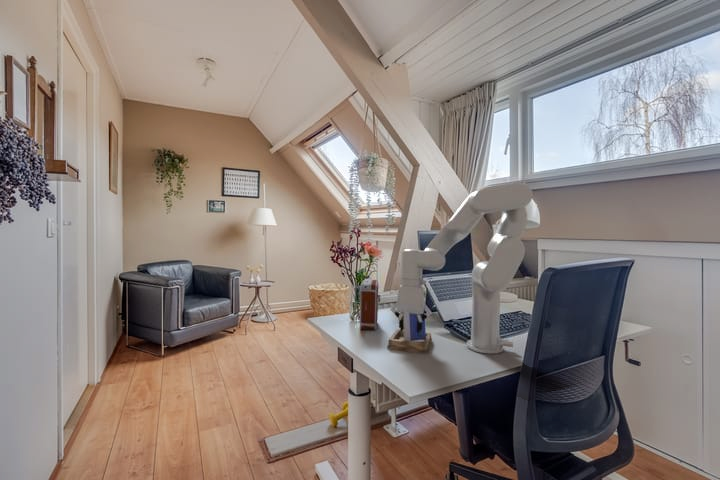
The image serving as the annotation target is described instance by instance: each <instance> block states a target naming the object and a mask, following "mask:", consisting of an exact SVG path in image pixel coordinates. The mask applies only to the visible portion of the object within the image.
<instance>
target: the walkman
mask: <svg viewBox="0 0 720 480" xmlns="http://www.w3.org/2000/svg"><path fill="white" fill-rule="evenodd" d="M403 311H404V312H403V330H404V340H405V341H415V340H424V339H425V338H426V333H427V332H426V319H425V320H423V321H422V330H420V333H417V323H418V317H417V314H410V313H408V312H407V310H403ZM425 314H426V313H425V312H424V313H423V314H421V317H422V316H423V315H425ZM425 332H426V333H425Z"/></svg>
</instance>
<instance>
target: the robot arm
mask: <svg viewBox="0 0 720 480" xmlns="http://www.w3.org/2000/svg"><path fill="white" fill-rule="evenodd" d="M532 199H533V191H532V188H531V187H530V186H529V185H528V184H526V183H523V182H513V183H510V184H509V183H508V184H505V185H500V186H499V185H498V186H494V187H486V188H480V189H478V190H475V191H473V192H471V193H469V195H468V196H467V197H466V198H465V199H464V201H462V203H461V205H460V206H459V207H458V208H457V210H456V211H455V212H454V214H452V216H451V217H450V219H449V220H448V221H447V222H446V223H445V224H444V225H443V227H441V229H440V230H439V232H438V233H437V234H436V235H434V237H433V239H431V241H430V242H429V243H428V245H426V247H425V248H424V250H421V249H417V248H405V249H404V250H402V252H401V253H402V254H401V280H400V281H401V284H399V288H398V292H397V298H396V300H397V301H396V303H395V304H394V305H393V306H392V307H391V308H390V311H391V312H392V313H393V314H394V315H395V317H396V318H398V320H399V321H398V329H400V331H403V330H404V329H403V312H404V311H403V310H407V312H408V313H410V314H417V317H418V323H417V333H420V330H422V321H423V320H425V321H426V319H427V318H428V317H430V316H431V315H432V314H433V312H432V311H431V309H430V308H429V307H428V306H427V304H426V290H425V286H424V285H426V284H427V280H426V279H425V280H424V279H423V270H428V271H439V270H441V269H443V267H444V266H445V264H446V256H445V255H446V254H447V253H448V252H449V251H450V249H452V247H454V245H456V244H457V243H459V242H460V241H462V240H464V239H466V238H467V237H468V235H469V234H470V233H471V232H472V230H473V229H475V227H476V225H477V224H478V223H479V221H480V220H481V219H482V218H483V217H484V216H485V214H491V213H498V212H501V219H500V221H499V223H498V225H497V228H496V229H495V232H494V233H493V235H492V237H491V239H490V240H489V242H488V244H487V247H486V250H487V253H488V254H487V255H489V259H488V260H487V261H480V262H478V263H476V264H475V265H474V267H473V268H472V271H471V274H470V276H471V277H470V278H471V288H472V289H471V290H472V291H471V292H472V297H471V298H472V302H471V303H472V304H471V332H470V339H468V340H467V341H466V347H467V348H468V349H470V350H471V351H474V352H477V353H482V354H489V355H490V354H491V355H495V354H500V353H502V352H504V347H508V348H509V347H510V348H514V341H511V340H509V339H503V338H502V337H500V315H501V313H500V312H501V292H503V291H505V290H506V289H507V288H508V287H509V285H510V284H511V282H512V280H513V278H514V277H515V275H516V273H517V271H518V269H519V267H520V266H521V264H522V261H523V260H524V257H525V254H526V253H525V252H526V247H525V244H524V242H523V240H521V238H522V235H523V233H524V231H525V230H526V227H527V224H528V213H527V209H526V206H528V205H529V204H531V202H532ZM425 312H426V313H425ZM423 313H425V315H423V316H422V317H421V314H423Z"/></svg>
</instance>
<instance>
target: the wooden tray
mask: <svg viewBox="0 0 720 480" xmlns="http://www.w3.org/2000/svg"><path fill="white" fill-rule="evenodd" d="M425 333H426V338H425V339H424V340H415V341H405V340H404V329H403V331H400V328H397V329H396V330H395V331H394V332H393V333H392V334H391V336H390V337H389V338H388V344H387V345H386V346H387V347H386V348H387V349H388V350H394V351H401V352H410V353H417V354H424V355H427V354H428V351H429V350H430V347H431V344H432V343H433V338H432V332H426V331H425Z"/></svg>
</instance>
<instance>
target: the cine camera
mask: <svg viewBox="0 0 720 480" xmlns="http://www.w3.org/2000/svg"><path fill="white" fill-rule="evenodd" d="M379 288H380V287H379V280H378V279H377V280H376V279H373V278H365V279H363V280H362V282H361V284H360V290H359V329H360V330H363V331H364V330H365V331H375V330H377V326H378V318H379V317H378V314H379V304H380V303H381V294H379Z"/></svg>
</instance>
